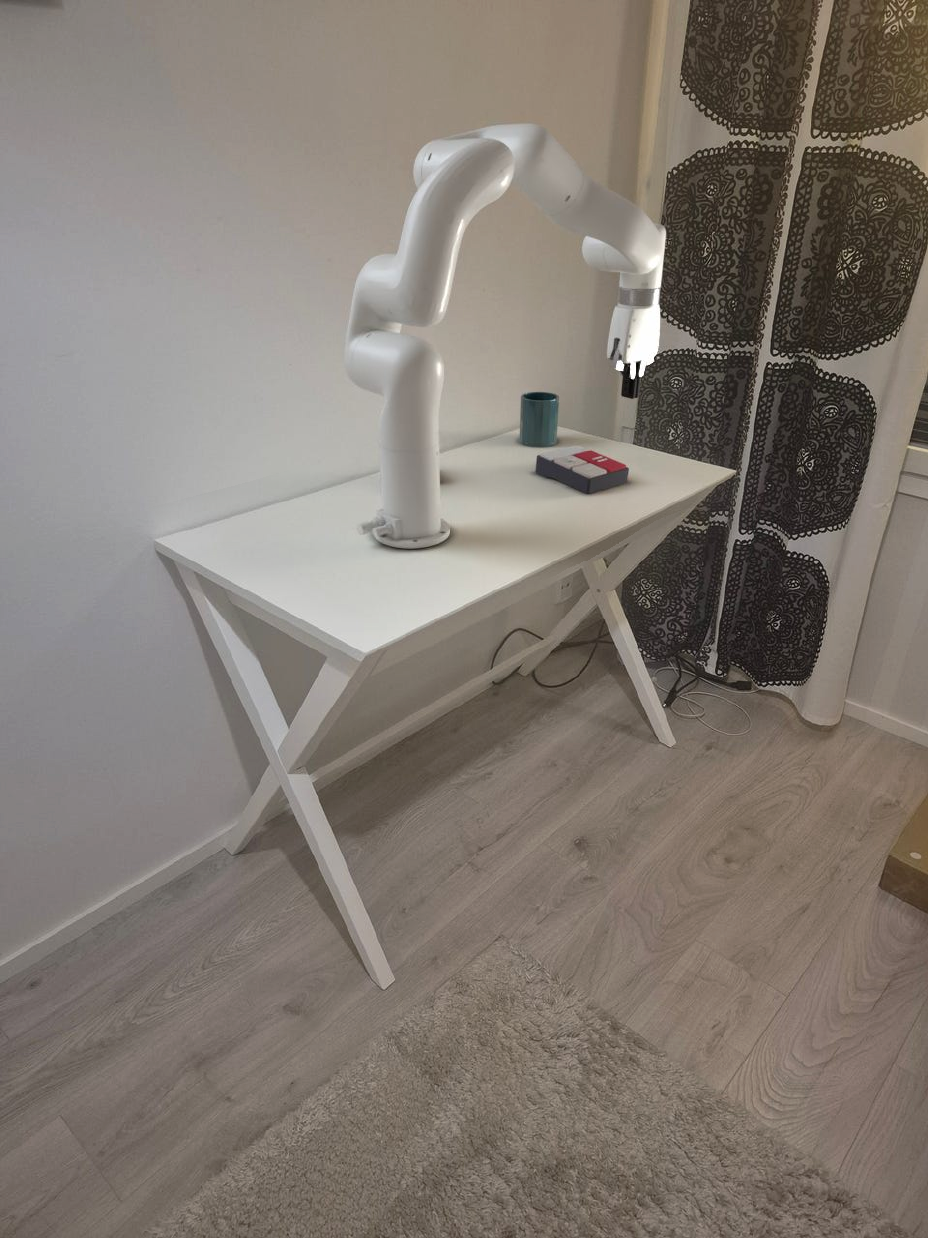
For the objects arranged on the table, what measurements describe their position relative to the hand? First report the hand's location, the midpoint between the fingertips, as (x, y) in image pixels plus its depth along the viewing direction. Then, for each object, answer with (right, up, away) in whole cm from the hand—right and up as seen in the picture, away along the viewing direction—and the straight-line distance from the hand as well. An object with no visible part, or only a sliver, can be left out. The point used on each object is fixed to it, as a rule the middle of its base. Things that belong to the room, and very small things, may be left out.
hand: (629, 396), depth 158 cm
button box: (-10, -16, 0) cm, 19 cm away
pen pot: (-16, -4, +21) cm, 27 cm away
